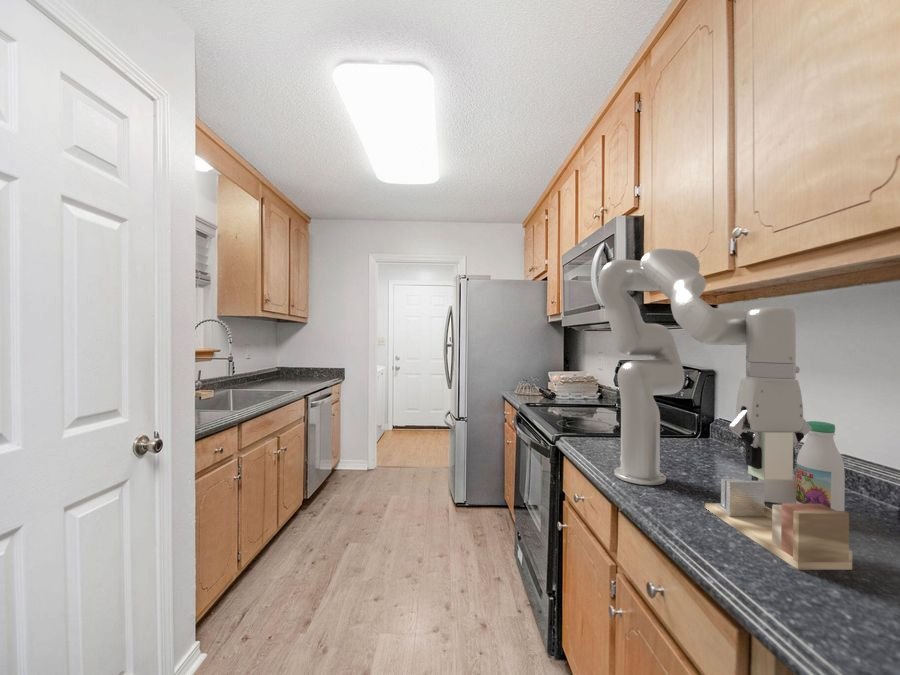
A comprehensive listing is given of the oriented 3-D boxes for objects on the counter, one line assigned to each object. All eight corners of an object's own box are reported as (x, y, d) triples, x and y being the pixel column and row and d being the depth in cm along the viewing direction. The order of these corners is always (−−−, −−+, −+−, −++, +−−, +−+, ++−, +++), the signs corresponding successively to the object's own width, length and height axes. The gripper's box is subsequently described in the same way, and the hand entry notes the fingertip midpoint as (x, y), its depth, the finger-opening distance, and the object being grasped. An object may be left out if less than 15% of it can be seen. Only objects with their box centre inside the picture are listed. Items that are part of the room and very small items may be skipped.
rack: (704, 508, 92) (705, 467, 92) (745, 508, 92) (745, 467, 92) (798, 569, 68) (798, 513, 68) (852, 569, 68) (852, 513, 68)
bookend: (713, 506, 90) (713, 474, 90) (746, 506, 90) (746, 474, 90) (729, 516, 85) (730, 482, 85) (764, 516, 85) (764, 482, 85)
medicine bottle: (751, 490, 103) (751, 442, 103) (787, 496, 99) (788, 446, 99) (756, 500, 96) (757, 449, 96) (795, 506, 93) (796, 453, 93)
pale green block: (748, 473, 81) (748, 427, 81) (775, 473, 81) (776, 427, 81) (764, 480, 77) (764, 431, 77) (793, 480, 77) (793, 432, 77)
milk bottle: (820, 509, 92) (821, 419, 92) (855, 525, 84) (856, 426, 84) (786, 509, 92) (787, 419, 92) (818, 525, 84) (819, 426, 84)
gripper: (797, 370, 83) (797, 461, 83) (712, 370, 83) (712, 461, 83) (832, 373, 75) (832, 473, 75) (739, 373, 75) (739, 473, 75)
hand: (769, 465), depth 79 cm, fingers closed on pale green block, 5 cm apart
